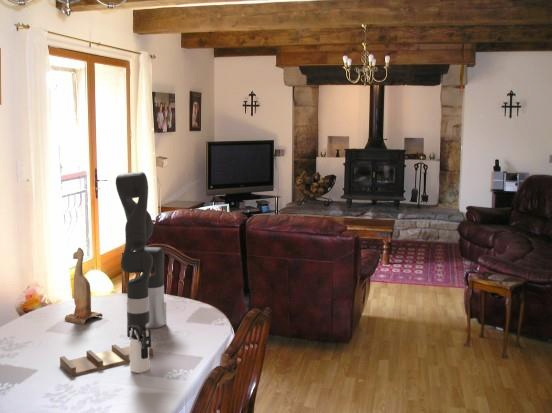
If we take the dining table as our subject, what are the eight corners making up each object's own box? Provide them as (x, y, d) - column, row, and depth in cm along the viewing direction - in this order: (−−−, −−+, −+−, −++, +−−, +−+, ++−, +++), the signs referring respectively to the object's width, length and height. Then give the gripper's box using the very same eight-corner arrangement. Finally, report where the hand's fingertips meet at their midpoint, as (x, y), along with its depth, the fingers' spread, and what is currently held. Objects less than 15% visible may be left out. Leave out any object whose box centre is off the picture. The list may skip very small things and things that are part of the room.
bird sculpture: (82, 314, 272) (77, 243, 267) (103, 317, 267) (98, 245, 262) (64, 322, 262) (58, 248, 257) (85, 325, 257) (80, 250, 252)
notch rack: (139, 346, 234) (139, 338, 234) (153, 356, 225) (153, 348, 224) (60, 365, 216) (59, 357, 216) (71, 376, 207) (71, 368, 206)
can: (131, 366, 216) (130, 333, 214) (150, 365, 216) (149, 333, 215) (129, 373, 209) (128, 340, 208) (148, 373, 210) (147, 339, 208)
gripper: (157, 312, 206) (158, 358, 209) (139, 302, 218) (140, 345, 220) (136, 316, 202) (137, 363, 204) (119, 305, 213) (120, 350, 215)
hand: (139, 354), depth 212 cm, fingers open, 8 cm apart
